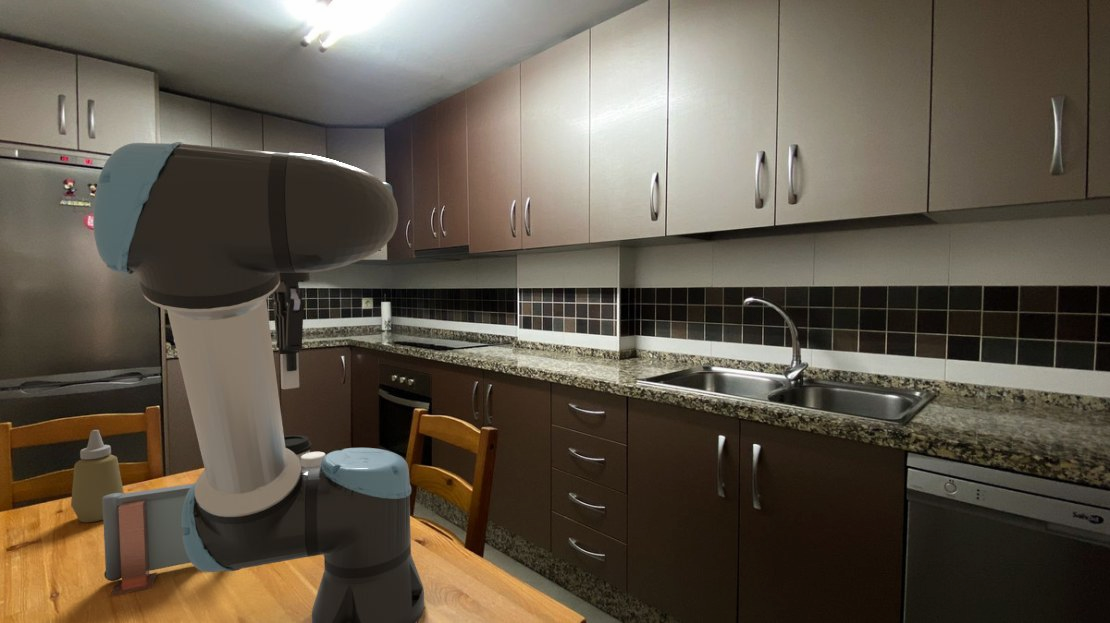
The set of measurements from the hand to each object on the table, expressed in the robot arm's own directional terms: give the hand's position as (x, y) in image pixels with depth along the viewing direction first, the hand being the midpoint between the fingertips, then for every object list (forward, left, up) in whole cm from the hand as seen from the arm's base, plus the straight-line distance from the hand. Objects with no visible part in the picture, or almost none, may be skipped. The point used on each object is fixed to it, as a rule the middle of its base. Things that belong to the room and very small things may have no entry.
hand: (290, 387), depth 94 cm
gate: (+1, +19, -28) cm, 34 cm away
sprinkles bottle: (+5, -5, -29) cm, 29 cm away
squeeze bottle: (+36, +28, -29) cm, 54 cm away
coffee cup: (+13, -2, -29) cm, 31 cm away
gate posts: (-1, +17, -28) cm, 33 cm away
